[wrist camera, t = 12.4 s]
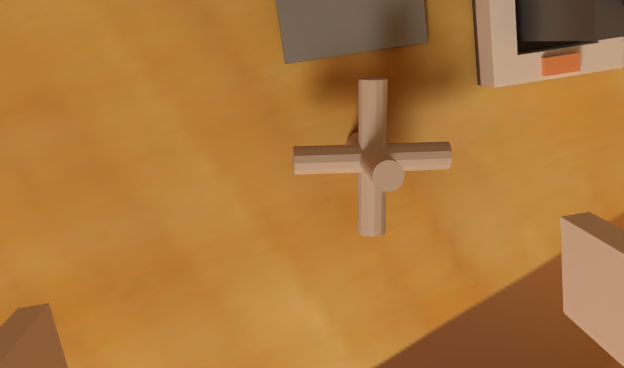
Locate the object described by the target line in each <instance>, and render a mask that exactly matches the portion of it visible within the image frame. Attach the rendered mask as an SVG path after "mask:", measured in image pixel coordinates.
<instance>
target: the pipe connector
mask: <svg viewBox="0 0 624 368" xmlns="http://www.w3.org/2000/svg"><path fill="white" fill-rule="evenodd" d="M387 101H388V79H385V78H365V79H359V132H355V133H353V134H351V135H350V136H349V137H348V139H347V142H346V145H327V146H294V147H293V171H294V175H296V174H325V173H353V172H358V233H359V234H360V235H363V236H368V237H376V236H382V235H384V234H385V214H386V192H391V191H394V190H396V189H398V188H399V187H400V186H401V184H402V183H403V180H404V171H411V170H439V169H449V168H450V166H451V162H452V150H451V146H450V144H449V142H423V143H391V144H387Z"/></svg>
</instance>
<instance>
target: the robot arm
mask: <svg viewBox="0 0 624 368" xmlns="http://www.w3.org/2000/svg"><path fill="white" fill-rule="evenodd" d="M561 246H562V278H563V307H564V308H563V309H564V313H565V314H566V315H567V316H568V317H569V318H570V319H571V320H572V321H574V322H575V323H576V324H577V325H578V326H579V327H580V328H581V329H583V330H584V331H585V332H586V333H587V334H588V335H589V336H590V337H592V338H593V339H594V340H595V341H596V342H597V343H598V344H599V345H600V346H601V347H603V348H604V349H605V350H606V351H607V352H608V353H609V354H610V355H611V356H612V357H614V358H615V359H616V360H617V361H618V362H619V363H620V364H622V366H624V230H623V229H621V228H619V227H617V226H615V225H613V224H611V223H609V222H607V221H605V220H604V219H602V218H600V217H598V216H596V215H594V214H592V213H590V212H586V213H580V214H574V215H568V216H562V217H561ZM0 368H68V366H67V363H66V360H65V356H64V353H63V349H62V346H61V343H60V339H59V336H58V332H57V329H56V325H55V322H54V319H53V315H52V312H51V308H50V305H49V303H47V304H41V305H35V306H29V307H23V308H18V309H17V310H16V311H15V312H14V313H13V314H12V315H11V316H10V317H9V318H8V320H7V321H6V322H5V323H4V324H3V325H2V326H1V327H0Z"/></svg>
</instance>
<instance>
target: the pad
mask: <svg viewBox="0 0 624 368" xmlns="http://www.w3.org/2000/svg"><path fill="white" fill-rule="evenodd" d="M276 6H277V12H278V19H279V25H280V32H281V38H282V45H283V51H284V58H285V64H289V63H295V62H302V61H308V60H315V59H322V58H328V57H335V56H341V55H348V54H354V53H361V52H368V51H374V50H381V49H387V48H394V47H400V46H407V45H414V44H420V43H427V42H428V37H427V25H426V14H425V3H424V0H276Z"/></svg>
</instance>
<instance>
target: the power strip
mask: <svg viewBox="0 0 624 368" xmlns="http://www.w3.org/2000/svg"><path fill="white" fill-rule="evenodd" d="M472 7H473V22H474V37H475V51H476V66H477V81H478V85H482V86H487V87H492V88H497V87H503V86H510V85H516V84H522V83H529V82H535V81H541V80H548V79H554V78H560V77H567V76H573V75H580V74H586V73H592V72H599V71H605V70H611V69H618V68H623V37H617V38H611V39H604V40H598V41H517V33H516V13H515V0H472Z"/></svg>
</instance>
